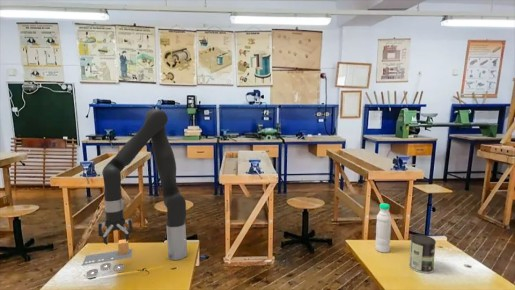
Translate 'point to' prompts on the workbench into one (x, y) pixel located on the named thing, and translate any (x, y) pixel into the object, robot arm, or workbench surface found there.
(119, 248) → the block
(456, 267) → the workbench surface
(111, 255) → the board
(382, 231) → the water bottle
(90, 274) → the steel cylinder
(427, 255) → the coffee can
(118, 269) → the steel cylinder
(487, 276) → the workbench surface
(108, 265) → the steel cylinder
